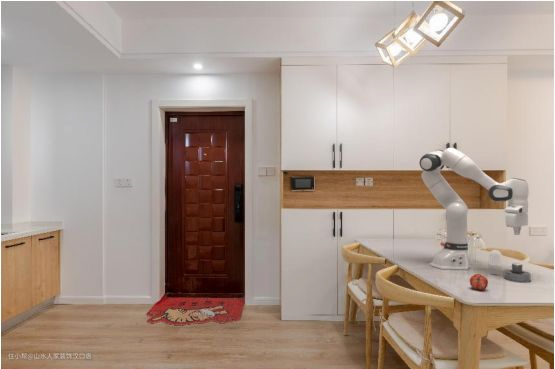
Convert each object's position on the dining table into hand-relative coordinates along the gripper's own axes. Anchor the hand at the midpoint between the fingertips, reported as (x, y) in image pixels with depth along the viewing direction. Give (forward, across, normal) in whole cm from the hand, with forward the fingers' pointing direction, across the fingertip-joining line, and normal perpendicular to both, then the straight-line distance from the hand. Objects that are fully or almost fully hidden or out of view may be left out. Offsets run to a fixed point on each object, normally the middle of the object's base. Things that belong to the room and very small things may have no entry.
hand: (517, 234), depth 193 cm
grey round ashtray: (+22, +6, +3) cm, 23 cm away
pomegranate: (+23, +40, -1) cm, 46 cm away
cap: (+22, +6, +3) cm, 23 cm away
